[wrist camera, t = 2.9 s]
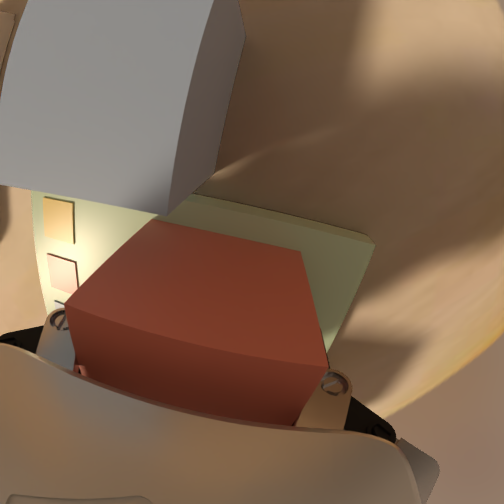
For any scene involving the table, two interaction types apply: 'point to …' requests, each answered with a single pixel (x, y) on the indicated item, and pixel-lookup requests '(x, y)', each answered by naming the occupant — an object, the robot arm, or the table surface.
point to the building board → (201, 217)
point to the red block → (201, 324)
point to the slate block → (118, 98)
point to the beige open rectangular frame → (5, 32)
